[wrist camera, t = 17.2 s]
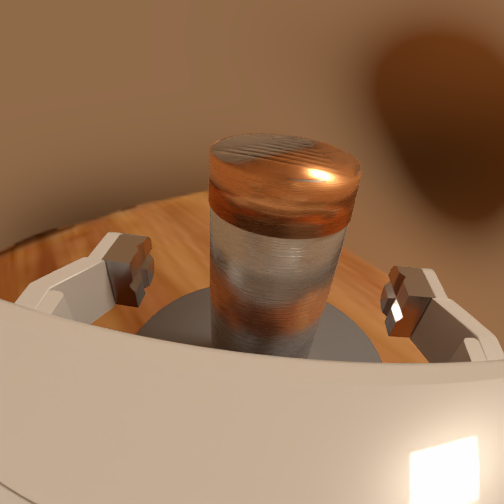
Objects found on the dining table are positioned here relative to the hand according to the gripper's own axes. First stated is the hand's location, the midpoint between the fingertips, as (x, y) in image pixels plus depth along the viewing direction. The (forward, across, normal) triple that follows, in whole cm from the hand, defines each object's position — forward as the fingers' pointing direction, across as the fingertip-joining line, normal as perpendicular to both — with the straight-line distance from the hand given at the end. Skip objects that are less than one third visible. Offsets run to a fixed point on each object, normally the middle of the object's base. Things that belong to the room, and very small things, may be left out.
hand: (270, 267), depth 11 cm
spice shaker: (+1, 0, +8) cm, 8 cm away
